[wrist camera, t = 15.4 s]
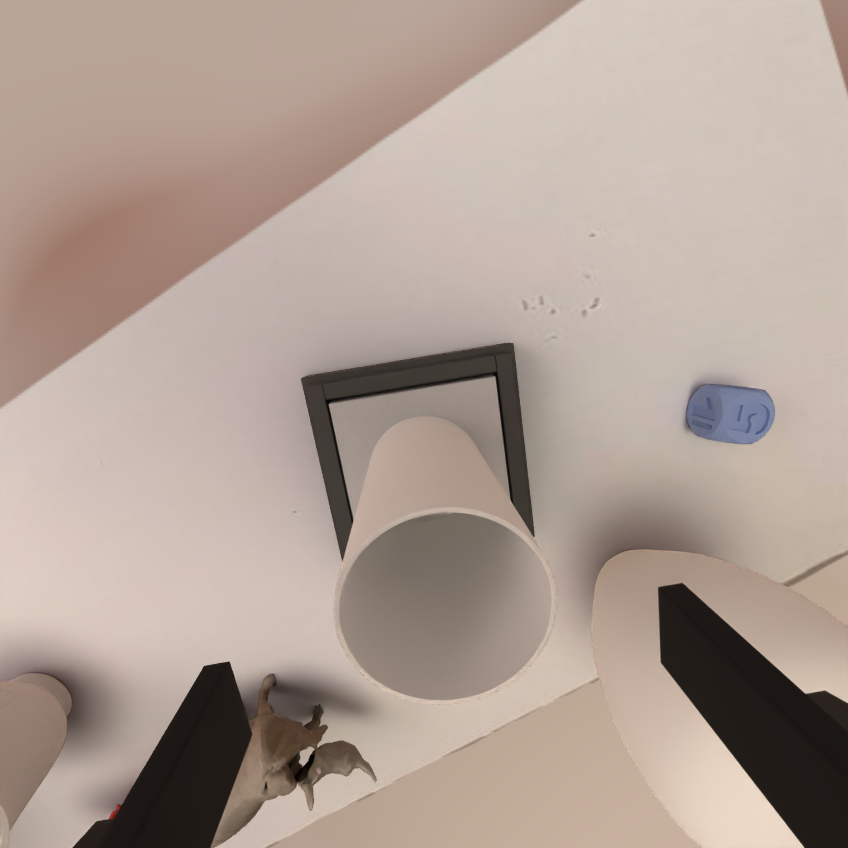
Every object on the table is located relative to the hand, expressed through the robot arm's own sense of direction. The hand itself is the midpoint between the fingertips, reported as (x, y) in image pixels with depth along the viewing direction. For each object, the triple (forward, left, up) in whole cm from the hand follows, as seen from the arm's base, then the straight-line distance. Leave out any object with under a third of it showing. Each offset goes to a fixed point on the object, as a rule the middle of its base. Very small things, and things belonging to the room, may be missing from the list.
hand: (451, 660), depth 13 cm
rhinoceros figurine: (+22, -17, -22) cm, 36 cm away
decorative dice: (0, +24, -22) cm, 33 cm away
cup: (0, 0, -19) cm, 19 cm away
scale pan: (0, 0, -20) cm, 20 cm away
